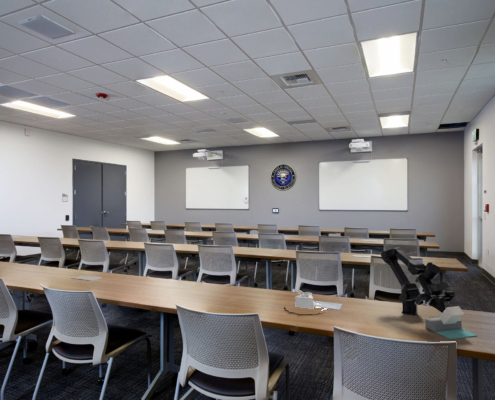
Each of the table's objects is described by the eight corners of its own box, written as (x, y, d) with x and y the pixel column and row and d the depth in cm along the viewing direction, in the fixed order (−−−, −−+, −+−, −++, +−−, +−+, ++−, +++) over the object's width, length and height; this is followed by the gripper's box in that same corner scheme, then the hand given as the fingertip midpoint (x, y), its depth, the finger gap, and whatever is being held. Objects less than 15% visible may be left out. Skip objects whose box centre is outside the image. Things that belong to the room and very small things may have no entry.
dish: (324, 317, 181) (323, 296, 181) (279, 312, 190) (278, 292, 190) (331, 304, 203) (330, 285, 204) (290, 301, 213) (290, 283, 213)
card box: (438, 316, 159) (447, 307, 153) (450, 315, 160) (458, 306, 155) (443, 324, 156) (452, 315, 150) (455, 323, 157) (464, 314, 152)
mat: (436, 332, 155) (436, 331, 155) (462, 329, 158) (462, 328, 158) (449, 339, 147) (449, 338, 147) (477, 336, 150) (477, 335, 150)
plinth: (425, 327, 162) (425, 318, 162) (450, 324, 165) (450, 316, 165) (435, 332, 156) (435, 323, 156) (461, 329, 158) (461, 320, 158)
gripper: (418, 277, 162) (436, 306, 151) (452, 274, 166) (472, 303, 155) (408, 289, 170) (424, 318, 159) (440, 287, 174) (459, 315, 162)
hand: (445, 313), depth 159 cm, fingers closed
